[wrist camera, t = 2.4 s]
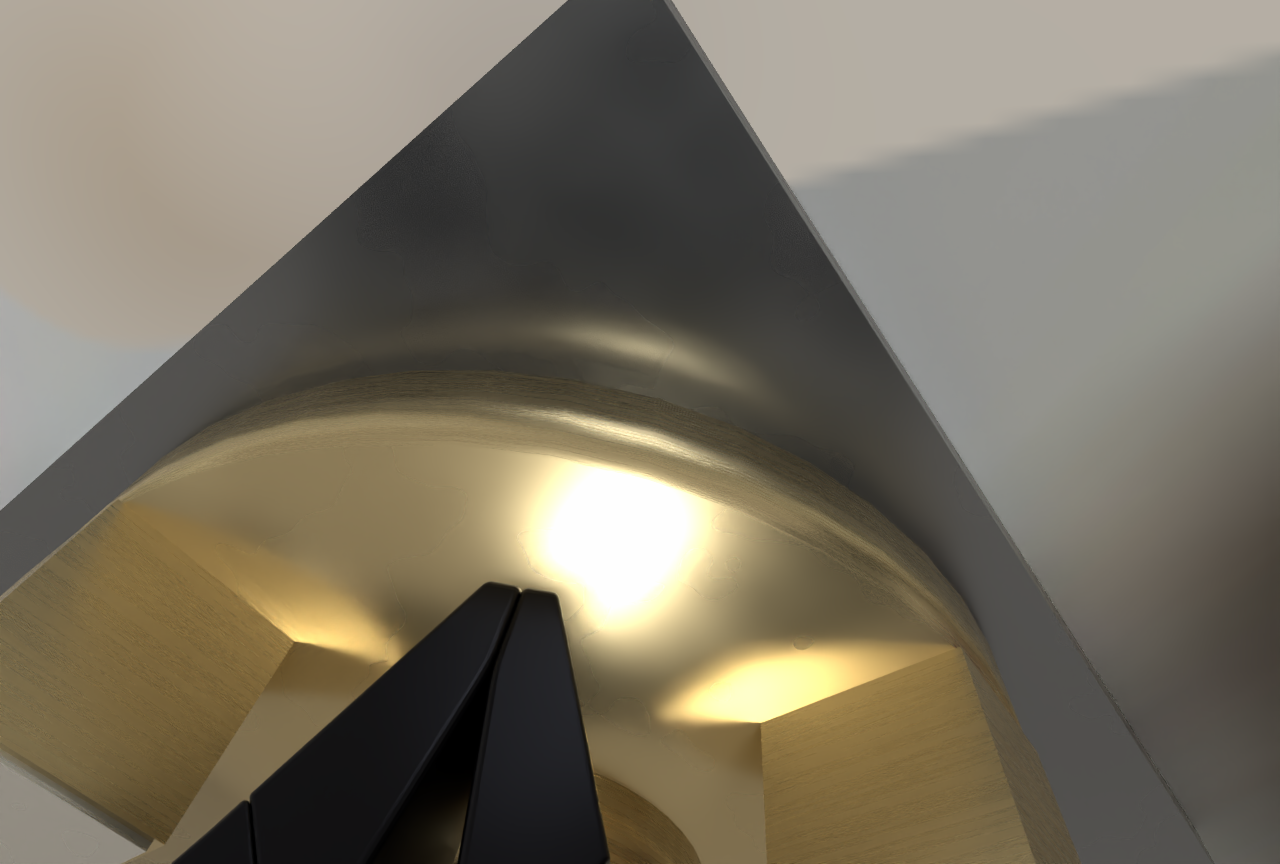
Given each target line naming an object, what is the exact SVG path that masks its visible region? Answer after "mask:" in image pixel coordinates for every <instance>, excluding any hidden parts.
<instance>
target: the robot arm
mask: <svg viewBox="0 0 1280 864" xmlns="http://www.w3.org/2000/svg"><path fill="white" fill-rule="evenodd" d="M249 799H250V803H249V801H247V800H243V801H241V802H240V803H239V804H238V805H237V806H236V807H234V808H233V809H232V810H231V811H230V812H229V813H228V814H227V815H226V816H225V817H223V818H222V819H221V820H220V821H219V822H218V823H217V824H216V825H215V826H214V827H212V828H211V829H210V830H209V831H208V832H207V833H206V834H204V835H203V836H202V837H201V838H200V839H199V840H198V841H196V842H195V843H194V844H193V845H192V846H191V847H189V848H188V849H187V850H186V851H185V852H184V853H182V854H181V855H180V856H179V857H178V858H177V859H175V860H174V861H173V862H172V863H171V864H453V862H454V859H455V857H456V854H457V852H458V849H459V846H460V850H459V856H458V862H457V864H610V853H609V848H608V843H607V837H606V832H605V827H604V822H603V817H602V812H601V807H600V802H599V797H598V792H597V787H596V782H595V776H594V771H593V766H592V761H591V756H590V751H589V746H588V741H587V736H586V731H585V726H584V721H583V715H582V710H581V705H580V700H579V695H578V690H577V685H576V680H575V675H574V670H573V665H572V660H571V654H570V649H569V644H568V639H567V634H566V629H565V624H564V619H563V614H562V609H561V604H560V599H559V596H558V595H557V594H556V593H555V592H550V591H544V590H539V589H533V588H526V589H524V590H523V591H521V589H520V588H519V587H518V586H516V585H510V584H504V583H498V582H493V581H489V582H486V583H484V584H483V585H482V586H481V587H479V588H478V589H477V590H476V591H475V592H474V593H473V594H472V595H471V596H469V597H468V598H467V599H466V600H465V601H464V602H463V603H462V604H461V605H459V606H458V607H457V608H456V609H455V610H454V611H453V612H452V613H451V614H449V615H448V616H447V617H446V618H445V619H444V620H443V621H442V622H441V623H439V624H438V625H437V626H436V627H435V628H434V629H433V630H432V631H431V632H430V633H428V634H427V635H426V636H425V637H424V638H423V639H422V640H421V641H420V642H418V643H417V644H416V645H415V646H414V647H413V648H412V649H411V650H410V651H408V652H407V653H406V654H405V655H404V656H403V657H402V658H401V659H400V660H398V661H397V662H396V663H395V664H394V665H393V666H392V667H391V668H390V669H388V670H387V671H386V672H385V673H384V674H383V675H382V676H381V677H380V678H378V679H377V680H376V681H375V682H374V683H373V684H372V685H371V686H370V687H368V688H367V689H366V690H365V691H364V692H363V693H362V694H361V695H360V696H358V697H357V698H356V699H355V700H354V701H353V702H352V703H351V704H350V705H348V706H347V707H346V708H345V709H344V710H343V711H342V712H341V713H340V714H338V715H337V716H336V717H335V718H334V719H333V720H332V721H331V722H330V723H328V724H327V725H326V726H325V727H324V728H323V729H322V730H321V731H320V732H318V733H317V734H316V735H315V736H314V737H313V738H312V739H311V740H310V741H308V742H307V743H306V744H305V745H304V746H303V747H302V748H301V749H300V750H298V751H297V752H296V753H295V754H294V755H293V756H292V757H291V758H290V759H288V760H287V761H286V762H285V763H284V764H283V765H282V766H281V767H280V768H278V769H277V770H276V771H275V772H274V773H273V774H272V775H271V776H270V777H268V778H267V779H266V780H265V781H264V782H263V783H262V784H261V785H260V786H258V787H257V788H256V789H255V790H254V791H253V792H252V793H251V794H250V796H249Z"/></svg>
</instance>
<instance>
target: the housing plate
mask: <svg viewBox="0 0 1280 864" xmlns="http://www.w3.org/2000/svg"><path fill="white" fill-rule="evenodd" d="M420 370H497V371H506V372H514V373H523V374H532V375H541V376H549V377H558V378H567V379H576V380H581V381H585V382H589V383H594V384H598V385H602V386H607V387H611V388H615V389H619V390H624V391H628V392H632V393H637V394H641V395H645V396H650V397H654V398H658V399H661V400H664V401H667V402H670V403H673V404H675V405H678V406H681V407H684V408H687V409H689V410H692V411H695V412H698V413H701V414H703V415H706V416H709V417H712V418H715V419H717V420H720V421H723V422H726V423H728V424H731V425H734V426H737V427H739V428H741V429H743V430H745V431H747V432H749V433H751V434H753V435H755V436H757V437H759V438H761V439H763V440H765V441H767V442H769V443H771V444H773V445H775V446H777V447H779V448H781V449H783V450H785V451H787V452H789V453H791V454H793V455H795V456H797V457H799V458H801V459H803V460H805V461H807V462H809V463H811V464H812V465H814V466H815V467H817V468H818V469H820V470H821V471H823V472H824V473H826V474H827V475H829V476H830V477H832V478H833V479H835V480H836V481H838V482H839V483H841V484H842V485H844V486H845V487H847V488H848V489H850V490H851V491H853V492H854V493H856V494H857V495H859V496H860V497H862V498H863V499H865V500H866V501H868V502H869V503H871V504H872V505H873V506H874V507H875V508H876V509H878V510H879V511H880V512H881V513H882V514H883V515H884V516H885V517H887V518H888V519H889V520H890V521H891V522H892V523H893V524H894V525H896V526H897V527H898V528H899V529H900V530H901V531H902V532H904V533H905V534H906V535H907V536H908V537H909V538H910V539H911V540H913V541H914V542H915V543H916V544H917V545H918V546H919V547H920V548H922V549H923V551H924V552H925V553H926V554H927V556H928V557H929V558H930V559H931V560H932V562H933V563H934V564H935V565H936V566H937V568H938V569H939V570H940V571H941V572H942V574H943V575H944V576H945V577H946V578H947V580H948V581H949V582H950V583H951V584H952V586H953V587H954V588H955V589H956V590H957V592H958V593H959V594H960V595H961V597H962V598H963V600H964V602H965V604H966V605H967V607H968V609H969V610H970V612H971V614H972V616H973V617H974V619H975V621H976V623H977V624H978V626H979V628H980V630H981V631H982V633H983V635H984V637H985V638H986V640H987V642H988V643H989V646H990V648H991V651H992V653H993V656H994V659H995V661H996V664H997V666H998V669H999V672H1000V674H1001V677H1002V679H1003V682H1004V684H1005V687H1006V690H1007V692H1008V695H1009V697H1010V700H1011V703H1012V705H1013V708H1014V710H1015V713H1016V715H1017V718H1018V721H1019V723H1020V726H1021V728H1022V731H1023V733H1024V734H1025V736H1026V737H1027V738H1028V740H1029V741H1030V742H1031V744H1032V745H1033V747H1034V748H1035V749H1036V751H1037V753H1038V756H1039V758H1040V761H1041V763H1042V766H1043V768H1044V771H1045V773H1046V776H1047V778H1048V781H1049V783H1050V786H1051V788H1052V791H1053V793H1054V796H1055V799H1056V801H1057V804H1058V806H1059V809H1060V811H1061V814H1062V816H1063V819H1064V821H1065V824H1066V826H1067V829H1068V831H1069V834H1070V837H1071V839H1072V842H1073V844H1074V847H1075V849H1076V852H1077V854H1078V857H1079V859H1080V862H1081V864H1214V862H1213V860H1212V859H1211V857H1210V855H1209V853H1208V851H1207V849H1206V848H1205V846H1204V844H1203V842H1202V840H1201V838H1200V837H1199V835H1198V833H1197V831H1196V830H1195V828H1194V826H1193V825H1192V823H1191V822H1190V820H1189V819H1188V817H1187V815H1186V814H1185V812H1184V811H1183V809H1182V807H1181V806H1180V804H1179V803H1178V801H1177V800H1176V798H1175V796H1174V795H1173V793H1172V792H1171V790H1170V788H1169V787H1168V785H1167V784H1166V782H1165V781H1164V779H1163V777H1162V776H1161V774H1160V773H1159V771H1158V769H1157V768H1156V766H1155V765H1154V763H1153V762H1152V760H1151V758H1150V757H1149V755H1148V754H1147V752H1146V751H1145V749H1144V747H1143V746H1142V744H1141V743H1140V741H1139V739H1138V738H1137V736H1136V735H1135V733H1134V732H1133V730H1132V728H1131V727H1130V725H1129V724H1128V722H1127V720H1126V719H1125V717H1124V716H1123V714H1122V713H1121V711H1120V709H1119V708H1118V706H1117V705H1116V703H1115V701H1114V700H1113V698H1112V697H1111V695H1110V694H1109V692H1108V690H1107V689H1106V687H1105V686H1104V684H1103V682H1102V681H1101V679H1100V678H1099V676H1098V675H1097V673H1096V671H1095V670H1094V668H1093V667H1092V665H1091V663H1090V662H1089V660H1088V659H1087V657H1086V656H1085V654H1084V652H1083V651H1082V649H1081V648H1080V646H1079V644H1078V643H1077V641H1076V640H1075V638H1074V637H1073V635H1072V633H1071V632H1070V630H1069V629H1068V627H1067V625H1066V624H1065V622H1064V621H1063V619H1062V618H1061V616H1060V614H1059V613H1058V611H1057V610H1056V608H1055V606H1054V605H1053V603H1052V602H1051V600H1050V599H1049V597H1048V595H1047V594H1046V592H1045V591H1044V589H1043V587H1042V586H1041V584H1040V583H1039V581H1038V580H1037V578H1036V576H1035V575H1034V573H1033V572H1032V570H1031V568H1030V567H1029V565H1028V564H1027V562H1026V561H1025V559H1024V557H1023V556H1022V554H1021V553H1020V551H1019V549H1018V548H1017V546H1016V545H1015V543H1014V542H1013V540H1012V538H1011V537H1010V535H1009V534H1008V532H1007V530H1006V529H1005V527H1004V526H1003V524H1002V523H1001V521H1000V519H999V518H998V516H997V515H996V513H995V511H994V510H993V508H992V507H991V505H990V504H989V502H988V500H987V499H986V497H985V496H984V494H983V492H982V491H981V489H980V488H979V486H978V485H977V483H976V481H975V480H974V478H973V477H972V475H971V474H970V472H969V470H968V469H967V467H966V466H965V464H964V462H963V461H962V459H961V458H960V456H959V455H958V453H957V451H956V450H955V448H954V447H953V445H952V443H951V442H950V440H949V439H948V437H947V436H946V434H945V432H944V431H943V429H942V428H941V426H940V424H939V423H938V421H937V420H936V418H935V417H934V415H933V413H932V412H931V410H930V409H929V407H928V405H927V404H926V402H925V401H924V399H923V398H922V396H921V394H920V393H919V391H918V390H917V388H916V386H915V385H914V383H913V382H912V380H911V379H910V377H909V375H908V374H907V372H906V371H905V369H904V367H903V366H902V364H901V363H900V361H899V360H898V358H897V356H896V355H895V353H894V352H893V350H892V348H891V347H890V345H889V344H888V342H887V341H886V339H885V337H884V336H883V334H882V333H881V331H880V329H879V328H878V326H877V325H876V323H875V322H874V320H873V318H872V317H871V315H870V314H869V312H868V310H867V309H866V307H865V306H864V304H863V303H862V301H861V299H860V298H859V296H858V295H857V293H856V291H855V290H854V288H853V287H852V285H851V284H850V282H849V280H848V279H847V277H846V276H845V274H844V272H843V271H842V269H841V268H840V266H839V265H838V263H837V261H836V260H835V258H834V257H833V255H832V253H831V252H830V250H829V249H828V247H827V246H826V244H825V242H824V241H823V239H822V238H821V236H820V234H819V233H818V231H817V230H816V228H815V227H814V225H813V223H812V222H811V220H810V219H809V217H808V215H807V214H806V212H805V211H804V209H803V208H802V206H801V204H800V203H799V201H798V200H797V198H796V197H795V195H794V193H793V192H792V190H791V189H790V187H789V185H788V184H787V182H786V181H785V179H784V178H783V176H782V174H781V173H780V171H779V170H778V168H777V166H776V165H775V163H774V162H773V160H772V159H771V157H770V155H769V154H768V152H767V151H766V149H765V147H764V146H763V145H762V143H761V141H760V140H759V138H758V136H757V135H756V133H755V132H754V130H753V128H752V127H751V125H750V124H749V122H748V121H747V119H746V117H745V116H744V114H743V113H742V111H741V109H740V108H739V106H738V105H737V103H736V102H735V100H734V98H733V97H732V95H731V94H730V92H729V90H728V89H727V87H726V86H725V84H724V83H723V81H722V79H721V78H720V76H719V75H718V73H717V72H716V70H715V68H714V67H713V65H712V64H711V62H710V60H709V59H708V58H707V56H706V54H705V52H704V51H703V50H702V48H701V46H700V45H699V43H698V41H697V40H696V38H695V37H694V35H693V33H692V32H691V30H690V29H689V27H688V26H687V24H686V22H685V21H684V19H683V18H682V16H681V15H680V13H679V11H678V10H677V8H676V7H675V5H674V3H673V2H672V1H671V0H568V1H567V2H566V3H564V4H563V5H562V6H561V7H560V8H559V9H558V10H557V11H556V12H554V13H553V14H552V15H551V16H550V17H549V18H548V19H547V20H546V21H544V22H543V23H542V24H541V25H540V26H539V27H538V28H537V29H536V30H534V31H533V32H532V33H531V34H530V35H529V36H528V37H527V38H526V39H525V40H523V41H522V42H521V43H520V44H519V45H518V46H517V47H516V48H514V49H513V50H512V51H511V52H510V53H509V54H508V55H507V56H506V57H504V58H503V59H502V60H501V61H500V62H499V63H498V64H497V65H496V66H494V67H493V68H492V69H491V70H490V71H489V72H488V73H487V74H485V75H484V76H483V77H482V78H481V79H480V80H479V81H478V82H477V83H475V84H474V85H473V86H472V87H471V88H470V89H469V90H468V91H467V92H466V93H464V94H463V95H462V96H461V97H460V98H459V99H458V100H457V101H455V102H454V103H453V104H452V105H451V106H450V107H449V108H448V109H447V110H445V111H444V112H443V113H442V114H441V115H440V116H439V117H438V118H437V119H436V120H434V121H433V122H432V123H431V124H430V125H429V126H428V127H427V128H425V129H424V130H423V131H422V132H421V133H420V134H419V135H418V136H417V137H416V138H414V139H413V140H412V141H411V142H410V143H409V144H408V145H407V146H405V147H404V148H403V149H402V150H401V151H400V152H399V153H398V154H397V155H395V156H394V157H393V158H392V159H391V160H390V161H389V162H388V163H387V164H385V165H384V166H383V167H382V168H381V169H380V170H379V171H378V172H377V173H376V174H374V175H373V176H372V177H371V178H370V179H369V180H368V181H367V182H365V183H364V184H363V185H362V186H361V187H360V188H359V189H358V190H357V191H355V192H354V193H353V194H352V195H351V196H350V197H349V198H348V199H347V200H345V201H344V202H343V203H342V204H341V205H340V206H339V207H338V208H337V209H335V210H334V211H333V212H332V213H331V214H330V215H329V216H328V217H326V218H325V219H324V220H323V221H322V222H321V223H320V224H319V225H318V226H317V227H315V228H314V229H313V230H312V231H311V232H310V233H309V234H308V235H306V237H304V238H303V239H302V240H301V241H300V242H299V243H298V244H297V245H295V246H294V247H293V248H292V249H291V250H290V251H289V252H288V253H287V254H285V255H284V256H283V257H282V258H281V259H280V260H279V261H278V262H277V263H276V264H275V265H273V266H272V267H271V268H270V269H269V270H268V271H267V272H265V273H264V274H263V275H262V276H261V277H260V278H259V279H258V280H256V281H255V282H254V283H253V284H252V285H251V286H250V287H249V288H248V289H246V290H245V291H244V292H243V293H242V294H241V295H240V296H239V297H238V298H236V299H235V300H234V301H233V302H232V303H231V304H230V305H229V306H228V307H227V308H225V309H224V310H223V311H222V312H221V313H220V314H219V315H218V316H216V317H215V318H214V319H213V320H212V321H211V322H210V323H209V324H208V325H206V326H205V327H204V328H203V329H202V330H201V331H200V332H199V333H198V334H196V335H195V336H194V337H193V338H192V339H191V340H190V341H189V342H187V343H186V344H185V345H184V346H183V347H182V348H181V349H180V350H179V351H177V352H176V353H175V354H174V355H173V356H172V357H171V358H170V359H169V360H167V361H166V362H165V363H164V364H163V365H162V366H161V367H160V368H159V369H157V370H156V371H155V372H154V373H153V374H152V375H151V376H150V377H149V378H147V379H146V380H145V381H144V382H143V383H142V384H141V385H140V386H139V387H137V388H136V389H135V390H134V391H133V392H132V393H131V394H130V395H129V396H127V397H126V398H125V399H124V400H123V401H122V402H121V403H120V404H119V405H117V406H116V407H115V408H114V409H113V410H112V411H111V412H110V413H109V414H107V415H106V416H105V417H104V418H103V419H102V420H101V421H100V422H99V423H97V424H96V425H95V426H94V427H93V428H92V429H91V430H90V431H89V432H87V433H86V434H85V435H84V436H83V437H82V438H81V439H80V440H79V441H77V442H76V443H75V444H74V445H73V446H72V447H71V448H70V449H69V450H67V451H66V452H65V453H64V454H63V455H62V456H61V457H60V458H59V459H57V460H56V461H55V462H54V463H53V464H52V465H51V466H50V467H49V468H47V469H46V470H45V471H44V472H43V473H42V474H41V475H40V476H39V477H37V478H36V479H35V480H34V481H33V482H32V483H31V484H30V485H29V486H27V487H26V488H25V489H24V490H23V491H22V492H21V493H20V494H18V495H17V496H16V497H15V498H14V499H13V500H12V501H11V502H10V503H8V504H7V505H6V506H5V507H4V508H3V509H2V510H1V511H0V596H1V595H2V594H3V593H4V592H6V591H7V590H8V589H9V588H10V587H11V586H12V585H14V584H15V583H16V582H17V581H18V580H19V579H21V578H22V577H23V576H24V575H25V574H26V573H28V572H29V571H30V570H31V569H32V568H34V567H35V566H36V565H37V564H39V563H40V562H41V561H42V560H44V559H45V558H46V557H47V556H48V555H50V554H51V553H52V552H53V551H55V550H56V549H57V548H58V547H59V546H61V545H62V544H63V543H64V542H66V541H67V540H68V539H69V538H71V537H72V536H73V535H74V534H75V533H76V532H77V531H79V530H80V529H81V528H82V527H83V526H84V525H85V524H87V523H88V522H89V521H90V520H91V519H92V518H93V517H95V516H96V515H97V514H98V513H99V512H100V511H101V510H103V509H104V508H105V507H106V506H107V505H108V504H109V503H111V502H112V501H113V500H114V499H115V498H116V497H118V496H119V495H120V494H121V493H122V492H123V491H124V490H126V489H127V488H128V487H129V486H130V485H131V484H132V483H134V482H135V481H136V480H137V479H138V478H139V477H140V476H142V475H143V474H144V473H145V472H146V471H147V470H148V469H150V468H151V467H152V466H153V465H154V464H155V463H156V462H158V461H159V460H160V459H161V458H162V457H164V456H165V455H167V454H168V453H170V452H171V451H173V450H174V449H176V448H177V447H178V446H180V445H181V444H183V443H184V442H186V441H187V440H189V439H190V438H192V437H193V436H195V435H196V434H198V433H199V432H201V431H202V430H204V429H205V428H207V427H208V426H210V425H212V424H214V423H216V422H219V421H221V420H223V419H225V418H227V417H230V416H232V415H234V414H236V413H239V412H241V411H243V410H245V409H248V408H250V407H252V406H254V405H257V404H259V403H261V402H263V401H265V400H268V399H271V398H275V397H278V396H282V395H286V394H289V393H293V392H296V391H300V390H304V389H307V388H311V387H315V386H318V385H322V384H326V383H329V382H333V381H337V380H344V379H352V378H359V377H367V376H375V375H382V374H390V373H397V372H405V371H420Z"/></svg>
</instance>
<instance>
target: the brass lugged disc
mask: <svg viewBox="0 0 1280 864" xmlns="http://www.w3.org/2000/svg"><path fill="white" fill-rule="evenodd" d="M489 581H493V582H498V583H504V584H510V585H516V586H518V587H519V588H520V589H521V591H523V590H524V589H526V588H533V589H539V590H544V591H550V592H555V593H556V594H557V595H558V596H559V599H560V604H561V609H562V614H563V619H564V624H565V629H566V634H567V639H568V644H569V649H570V654H571V660H572V665H573V670H574V675H575V680H576V685H577V690H578V695H579V700H580V705H581V710H582V715H583V721H584V726H585V731H586V736H587V741H588V746H589V751H590V756H591V761H592V766H593V771H594V776H595V782H596V787H597V792H598V797H599V802H600V807H601V812H602V817H603V822H604V827H605V832H606V837H607V843H608V848H609V853H610V864H1081V862H1080V859H1079V857H1078V854H1077V852H1076V849H1075V847H1074V844H1073V842H1072V839H1071V837H1070V834H1069V831H1068V829H1067V826H1066V824H1065V821H1064V819H1063V816H1062V814H1061V811H1060V809H1059V806H1058V804H1057V801H1056V799H1055V796H1054V793H1053V791H1052V788H1051V786H1050V783H1049V781H1048V778H1047V776H1046V773H1045V771H1044V768H1043V766H1042V763H1041V761H1040V758H1039V756H1038V753H1037V751H1036V749H1035V748H1034V747H1033V745H1032V744H1031V742H1030V741H1029V740H1028V738H1027V737H1026V736H1025V734H1024V733H1023V731H1022V728H1021V726H1020V723H1019V721H1018V718H1017V715H1016V713H1015V710H1014V708H1013V705H1012V703H1011V700H1010V697H1009V695H1008V692H1007V690H1006V687H1005V684H1004V682H1003V679H1002V677H1001V674H1000V672H999V669H998V666H997V664H996V661H995V659H994V656H993V653H992V651H991V648H990V646H989V643H988V642H987V640H986V638H985V637H984V635H983V633H982V631H981V630H980V628H979V626H978V624H977V623H976V621H975V619H974V617H973V616H972V614H971V612H970V610H969V609H968V607H967V605H966V604H965V602H964V600H963V598H962V597H961V595H960V594H959V593H958V592H957V590H956V589H955V588H954V587H953V586H952V584H951V583H950V582H949V581H948V580H947V578H946V577H945V576H944V575H943V574H942V572H941V571H940V570H939V569H938V568H937V566H936V565H935V564H934V563H933V562H932V560H931V559H930V558H929V557H928V556H927V554H926V553H925V552H924V551H923V549H922V548H920V547H919V546H918V545H917V544H916V543H915V542H914V541H913V540H911V539H910V538H909V537H908V536H907V535H906V534H905V533H904V532H902V531H901V530H900V529H899V528H898V527H897V526H896V525H894V524H893V523H892V522H891V521H890V520H889V519H888V518H887V517H885V516H884V515H883V514H882V513H881V512H880V511H879V510H878V509H876V508H875V507H874V506H873V505H872V504H871V503H869V502H868V501H866V500H865V499H863V498H862V497H860V496H859V495H857V494H856V493H854V492H853V491H851V490H850V489H848V488H847V487H845V486H844V485H842V484H841V483H839V482H838V481H836V480H835V479H833V478H832V477H830V476H829V475H827V474H826V473H824V472H823V471H821V470H820V469H818V468H817V467H815V466H814V465H812V464H811V463H809V462H807V461H805V460H803V459H801V458H799V457H797V456H795V455H793V454H791V453H789V452H787V451H785V450H783V449H781V448H779V447H777V446H775V445H773V444H771V443H769V442H767V441H765V440H763V439H761V438H759V437H757V436H755V435H753V434H751V433H749V432H747V431H745V430H743V429H741V428H739V427H737V426H734V425H731V424H728V423H726V422H723V421H720V420H717V419H715V418H712V417H709V416H706V415H703V414H701V413H698V412H695V411H692V410H689V409H687V408H684V407H681V406H678V405H675V404H673V403H670V402H667V401H664V400H661V399H658V398H654V397H650V396H645V395H641V394H637V393H632V392H628V391H624V390H619V389H615V388H611V387H607V386H602V385H598V384H594V383H589V382H585V381H581V380H576V379H567V378H558V377H549V376H541V375H532V374H523V373H514V372H506V371H497V370H420V371H405V372H397V373H390V374H382V375H375V376H367V377H359V378H352V379H344V380H337V381H333V382H329V383H326V384H322V385H318V386H315V387H311V388H307V389H304V390H300V391H296V392H293V393H289V394H286V395H282V396H278V397H275V398H271V399H268V400H265V401H263V402H261V403H259V404H257V405H254V406H252V407H250V408H248V409H245V410H243V411H241V412H239V413H236V414H234V415H232V416H230V417H227V418H225V419H223V420H221V421H219V422H216V423H214V424H212V425H210V426H208V427H207V428H205V429H204V430H202V431H201V432H199V433H198V434H196V435H195V436H193V437H192V438H190V439H189V440H187V441H186V442H184V443H183V444H181V445H180V446H178V447H177V448H176V449H174V450H173V451H171V452H170V453H168V454H167V455H165V456H164V457H162V458H161V459H160V460H159V461H158V462H156V463H155V464H154V465H153V466H152V467H151V468H150V469H148V470H147V471H146V472H145V473H144V474H143V475H142V476H140V477H139V478H138V479H137V480H136V481H135V482H134V483H132V484H131V485H130V486H129V487H128V488H127V489H126V490H124V491H123V492H122V493H121V494H120V495H119V496H118V497H116V498H115V499H114V500H113V501H112V502H111V503H109V504H108V505H107V506H106V507H105V508H104V509H103V510H101V511H100V512H99V513H98V514H97V515H96V516H95V517H93V518H92V519H91V520H90V521H89V522H88V523H87V524H85V525H84V526H83V527H82V528H81V529H80V530H79V531H77V532H76V533H75V534H74V535H73V536H72V537H71V538H69V539H68V540H67V541H66V542H64V543H63V544H62V545H61V546H59V547H58V548H57V549H56V550H55V551H53V552H52V553H51V554H50V555H48V556H47V557H46V558H45V559H44V560H42V561H41V562H40V563H39V564H37V565H36V566H35V567H34V568H32V569H31V570H30V571H29V572H28V573H26V574H25V575H24V576H23V577H22V578H21V579H19V580H18V581H17V582H16V583H15V584H14V585H12V586H11V587H10V588H9V589H8V590H7V591H6V592H4V593H3V594H2V595H1V596H0V864H171V863H172V862H173V861H174V860H175V859H177V858H178V857H179V856H180V855H181V854H182V853H184V852H185V851H186V850H187V849H188V848H189V847H191V846H192V845H193V844H194V843H195V842H196V841H198V840H199V839H200V838H201V837H202V836H203V835H204V834H206V833H207V832H208V831H209V830H210V829H211V828H212V827H214V826H215V825H216V824H217V823H218V822H219V821H220V820H221V819H222V818H223V817H225V816H226V815H227V814H228V813H229V812H230V811H231V810H232V809H233V808H234V807H236V806H237V805H238V804H239V803H240V802H241V801H243V800H247V801H249V803H250V799H249V796H250V794H251V793H252V792H253V791H254V790H255V789H256V788H257V787H258V786H260V785H261V784H262V783H263V782H264V781H265V780H266V779H267V778H268V777H270V776H271V775H272V774H273V773H274V772H275V771H276V770H277V769H278V768H280V767H281V766H282V765H283V764H284V763H285V762H286V761H287V760H288V759H290V758H291V757H292V756H293V755H294V754H295V753H296V752H297V751H298V750H300V749H301V748H302V747H303V746H304V745H305V744H306V743H307V742H308V741H310V740H311V739H312V738H313V737H314V736H315V735H316V734H317V733H318V732H320V731H321V730H322V729H323V728H324V727H325V726H326V725H327V724H328V723H330V722H331V721H332V720H333V719H334V718H335V717H336V716H337V715H338V714H340V713H341V712H342V711H343V710H344V709H345V708H346V707H347V706H348V705H350V704H351V703H352V702H353V701H354V700H355V699H356V698H357V697H358V696H360V695H361V694H362V693H363V692H364V691H365V690H366V689H367V688H368V687H370V686H371V685H372V684H373V683H374V682H375V681H376V680H377V679H378V678H380V677H381V676H382V675H383V674H384V673H385V672H386V671H387V670H388V669H390V668H391V667H392V666H393V665H394V664H395V663H396V662H397V661H398V660H400V659H401V658H402V657H403V656H404V655H405V654H406V653H407V652H408V651H410V650H411V649H412V648H413V647H414V646H415V645H416V644H417V643H418V642H420V641H421V640H422V639H423V638H424V637H425V636H426V635H427V634H428V633H430V632H431V631H432V630H433V629H434V628H435V627H436V626H437V625H438V624H439V623H441V622H442V621H443V620H444V619H445V618H446V617H447V616H448V615H449V614H451V613H452V612H453V611H454V610H455V609H456V608H457V607H458V606H459V605H461V604H462V603H463V602H464V601H465V600H466V599H467V598H468V597H469V596H471V595H472V594H473V593H474V592H475V591H476V590H477V589H478V588H479V587H481V586H482V585H483V584H484V583H486V582H489ZM459 850H460V846H459V849H458V852H457V854H456V857H455V859H454V862H453V864H457V862H458V856H459Z"/></svg>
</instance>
